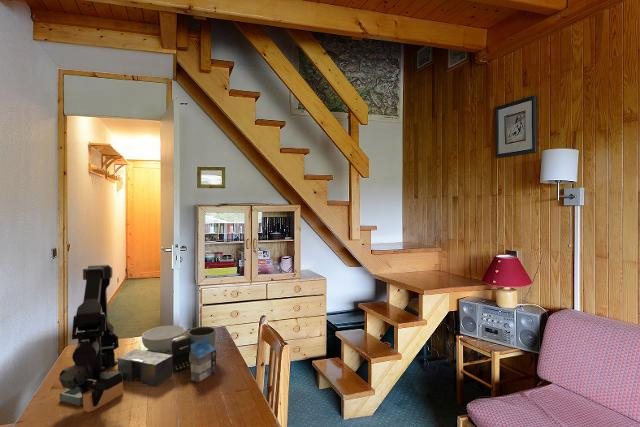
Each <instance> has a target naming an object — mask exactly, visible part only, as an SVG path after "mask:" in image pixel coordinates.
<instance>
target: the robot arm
mask: <svg viewBox="0 0 640 427" xmlns="http://www.w3.org/2000/svg"><path fill="white" fill-rule="evenodd" d="M112 278H113V266H112V267H111V265H109V264H95V265H93V264H91V265H88V266H87V268H84V269H82V280H83V281H85V286H84V287H85V288H84V294H83V295H84V296H83V300H82V301H83V302H82V303H81V304H80V305H78V307H77V310H76V313H75V315H74V316H73V320H72V333H71V340H72V341H73V340H77V345H76V347H75V349H74V351H73V353H72V356H71V357H72V361H73V363H74V365H71V366H69V367H66V368H64V369H62V370H61V372H60V373H59V378H58V380H59V381H60V384H61V387H62V388H63V389H67V390H68V389H71V390H73V389H75V388H77V387H78V388H79V390H80V392H81V394H82V396H83V394H84V393H86V392H88V391H90V390H91V391H92V401H93V406H94V407H95V406H97V405H98V403H99V401H100V399H101V396H102V394H103V392H104V390H108V389H110V388H112V387H114V386H116V385H118V384H119V383H121V382H123V383H124V381H123V375H122V374H121V373H118V371H109V372H108V373H106V374H102V373H103V372H106V369H108V368H110V367H113V366H115V365H118V361H116V359H115V358H116V357H115V354H116V353H115V350H117V349H118V348H119V347H120V346H119V345H120V344H119V343H120V342H119V336H118V335H117V333H116V332H115V326H114V325H113V324H112V323H110V321H109V307H108V293H107V292H108V291H107V290H108V289H107V288H108V287H109V285H110V283H111V279H112ZM77 331H78V332H77Z"/></svg>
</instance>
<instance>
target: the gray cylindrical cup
mask: <svg viewBox="0 0 640 427" xmlns="http://www.w3.org/2000/svg"><path fill="white" fill-rule="evenodd" d="M216 332H217V331H216V328H215V327H213V326H203V325H202V326H197V327H192V328H191V329H189V330H188V331H187V337H188V338H190V340H191V344H193V343H195V342H197V341H200V340H202V339H204V338H206V337H208V344H209V345H210V346H212V347H213V348H215V347H216V346H215V345H216ZM200 345H202V343H201V344H200V343H199V345H197V347H198V346H200ZM189 360H190V365H191V351H190V354H189Z"/></svg>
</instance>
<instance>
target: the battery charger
mask: <svg viewBox="0 0 640 427" xmlns="http://www.w3.org/2000/svg"><path fill="white" fill-rule="evenodd" d="M190 351H191V340H190V338H188V335H187V336H186V335H185V336H182V337H178V338H175V339H173V340H172V341H171V343H170V351H169V355H173V357H172V373H173V372H175V373H178V372H182V371H184V370H186V369H189V368H191V364H190V355H189V354H190Z"/></svg>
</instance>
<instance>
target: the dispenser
mask: <svg viewBox="0 0 640 427" xmlns="http://www.w3.org/2000/svg"><path fill="white" fill-rule="evenodd" d="M172 357H173V355H170V354H169V353H168V354H167V353H163V352H156V351H151V350H149V351H148V350H142V349H137V348H136V349H133V350H132V351H129V352H126V353H124V354H122V355H121V356H118V357H117V358H116V360H117V362H118V363H117V372H118V373H121V374H122V375H123V382H129V383H134V382H135V381H137V380H139V379H140V384H141V385H143V386H149V387H153V388H157V387H158V386H160V385H162V384H164V383H165V382H167V381H168V380H170V379H172V377H173V375H174V374H173V371H172Z"/></svg>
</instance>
